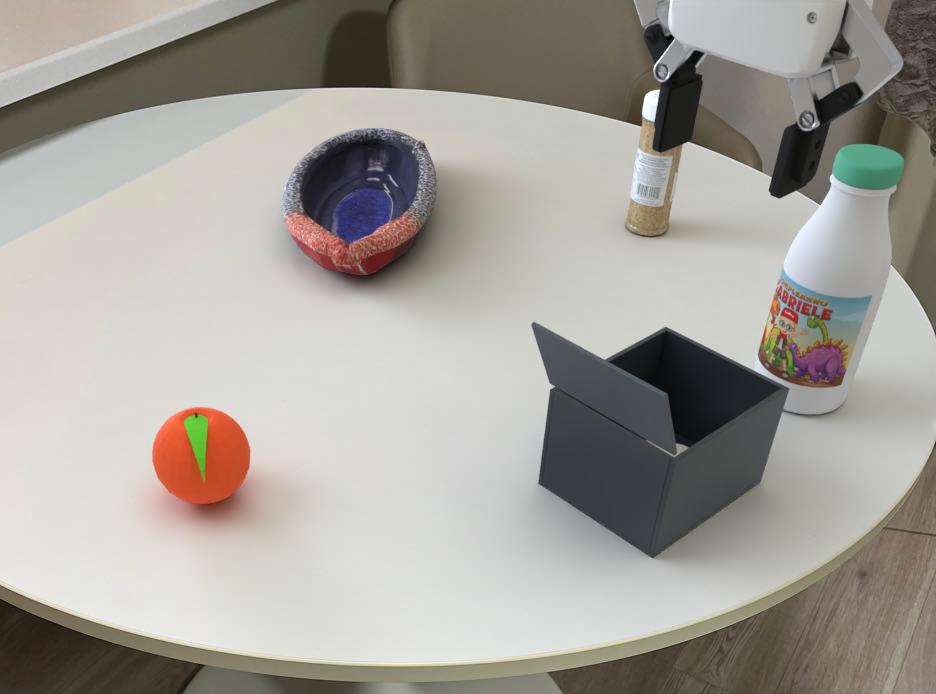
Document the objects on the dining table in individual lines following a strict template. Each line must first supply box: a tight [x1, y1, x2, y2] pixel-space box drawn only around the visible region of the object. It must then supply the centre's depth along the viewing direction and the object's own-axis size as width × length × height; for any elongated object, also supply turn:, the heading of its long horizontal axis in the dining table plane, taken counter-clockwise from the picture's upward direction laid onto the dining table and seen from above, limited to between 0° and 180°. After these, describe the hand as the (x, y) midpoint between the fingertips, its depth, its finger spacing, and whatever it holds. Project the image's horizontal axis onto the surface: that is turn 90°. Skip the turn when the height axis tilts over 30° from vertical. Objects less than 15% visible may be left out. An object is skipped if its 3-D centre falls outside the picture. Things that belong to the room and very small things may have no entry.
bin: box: [537, 326, 789, 559], centre depth 76 cm, size 13×11×8 cm
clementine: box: [151, 406, 251, 505], centre depth 75 cm, size 8×7×7 cm
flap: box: [530, 321, 677, 456], centre depth 67 cm, size 6×11×1 cm
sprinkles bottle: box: [624, 88, 684, 237], centre depth 105 cm, size 5×5×13 cm
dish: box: [281, 127, 438, 276], centre depth 109 cm, size 16×31×5 cm, turn 172°
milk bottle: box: [753, 143, 905, 415], centre depth 81 cm, size 8×8×20 cm
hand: (727, 166), depth 63 cm, fingers open, 7 cm apart
